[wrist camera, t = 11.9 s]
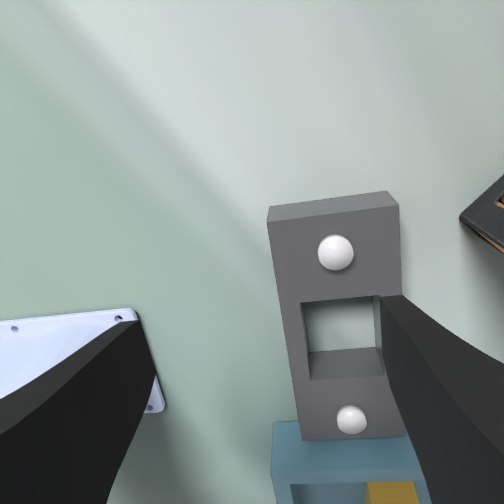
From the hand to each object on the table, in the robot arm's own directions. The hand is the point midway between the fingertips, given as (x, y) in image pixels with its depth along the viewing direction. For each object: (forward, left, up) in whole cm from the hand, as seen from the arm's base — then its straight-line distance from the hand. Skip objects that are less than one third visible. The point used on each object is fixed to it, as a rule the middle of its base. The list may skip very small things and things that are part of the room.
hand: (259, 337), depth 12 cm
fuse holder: (+3, -6, -10) cm, 12 cm away
